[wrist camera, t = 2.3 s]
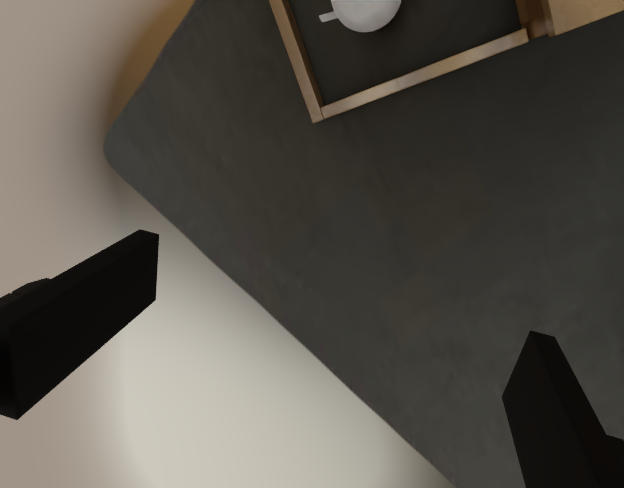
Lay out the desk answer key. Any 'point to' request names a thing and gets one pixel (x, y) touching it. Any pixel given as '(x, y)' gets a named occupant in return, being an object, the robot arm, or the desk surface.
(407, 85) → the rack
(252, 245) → the desk surface
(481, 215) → the desk surface
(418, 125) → the desk surface
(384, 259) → the desk surface
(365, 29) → the milkshake
